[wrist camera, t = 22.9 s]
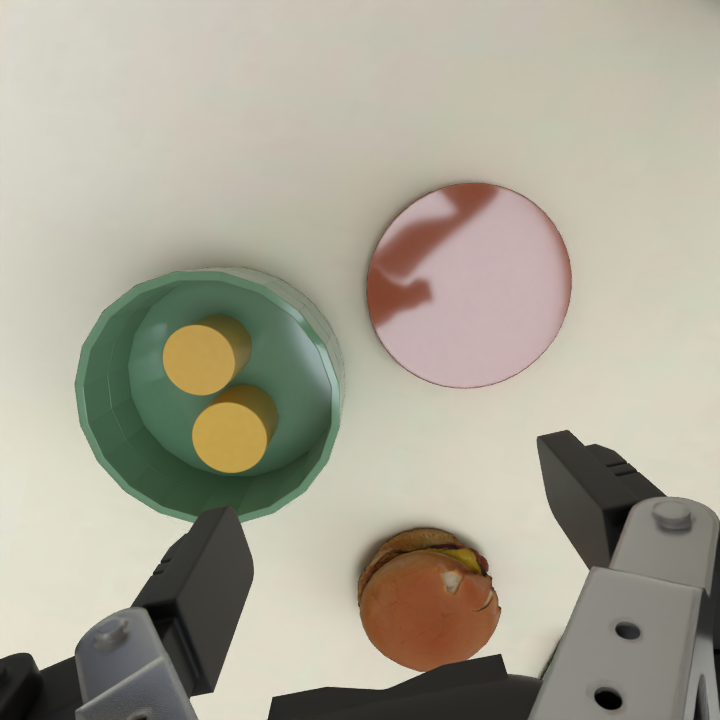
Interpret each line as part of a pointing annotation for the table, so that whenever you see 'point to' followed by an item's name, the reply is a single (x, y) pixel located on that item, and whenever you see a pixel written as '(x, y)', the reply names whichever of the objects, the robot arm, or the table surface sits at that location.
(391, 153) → the table surface
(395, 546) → the burger
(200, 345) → the yellow cylinder
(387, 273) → the plate
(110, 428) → the green bowl
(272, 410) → the yellow short cylinder
